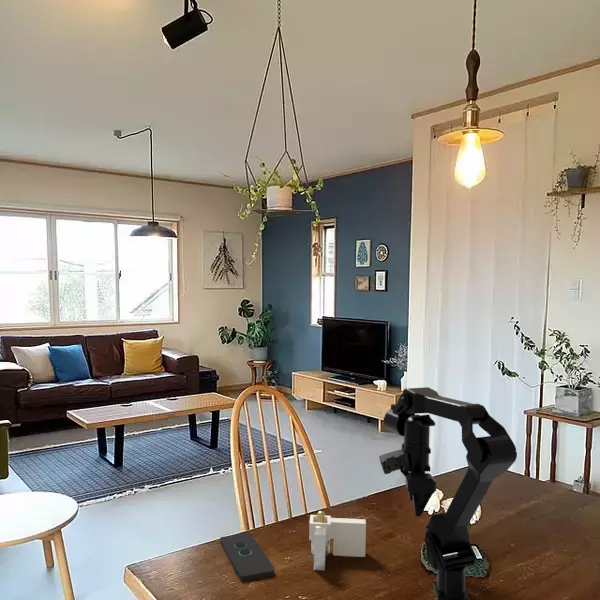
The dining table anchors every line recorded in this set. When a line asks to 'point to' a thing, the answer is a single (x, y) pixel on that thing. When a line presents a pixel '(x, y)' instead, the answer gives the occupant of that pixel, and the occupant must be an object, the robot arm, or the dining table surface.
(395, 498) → the dining table surface
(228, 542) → the smart home device
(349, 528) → the square loop paddle
